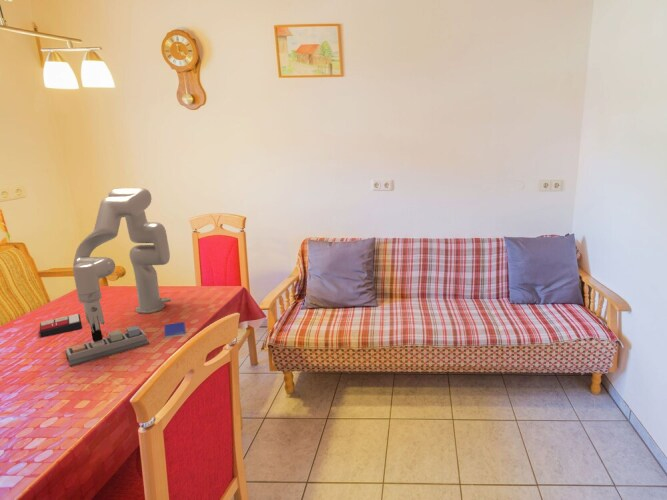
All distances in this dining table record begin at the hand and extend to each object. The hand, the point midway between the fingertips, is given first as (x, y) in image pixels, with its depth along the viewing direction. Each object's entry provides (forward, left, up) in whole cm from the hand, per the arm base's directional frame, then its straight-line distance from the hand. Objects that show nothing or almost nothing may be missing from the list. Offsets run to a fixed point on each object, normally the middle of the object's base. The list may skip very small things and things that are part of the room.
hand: (97, 340), depth 165 cm
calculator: (+9, -34, -5) cm, 35 cm away
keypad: (-3, 0, -4) cm, 5 cm away
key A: (-6, 0, -1) cm, 6 cm away
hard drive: (-29, +1, -5) cm, 29 cm away
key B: (+7, 0, -3) cm, 7 cm away
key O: (0, 0, -3) cm, 3 cm away
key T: (-13, 0, -1) cm, 13 cm away
